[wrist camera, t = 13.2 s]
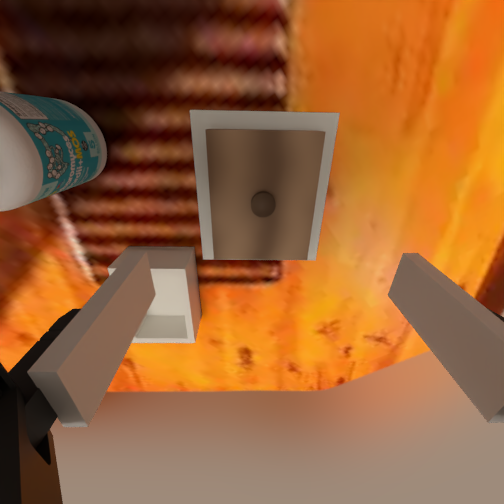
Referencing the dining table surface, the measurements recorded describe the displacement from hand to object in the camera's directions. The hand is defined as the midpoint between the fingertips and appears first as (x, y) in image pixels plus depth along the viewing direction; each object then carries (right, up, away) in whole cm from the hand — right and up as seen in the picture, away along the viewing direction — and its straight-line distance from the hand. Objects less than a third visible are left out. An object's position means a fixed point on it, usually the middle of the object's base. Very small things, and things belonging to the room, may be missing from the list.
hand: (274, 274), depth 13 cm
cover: (0, +7, +14) cm, 16 cm away
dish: (-12, -3, +20) cm, 23 cm away
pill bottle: (-19, +12, +11) cm, 25 cm away
